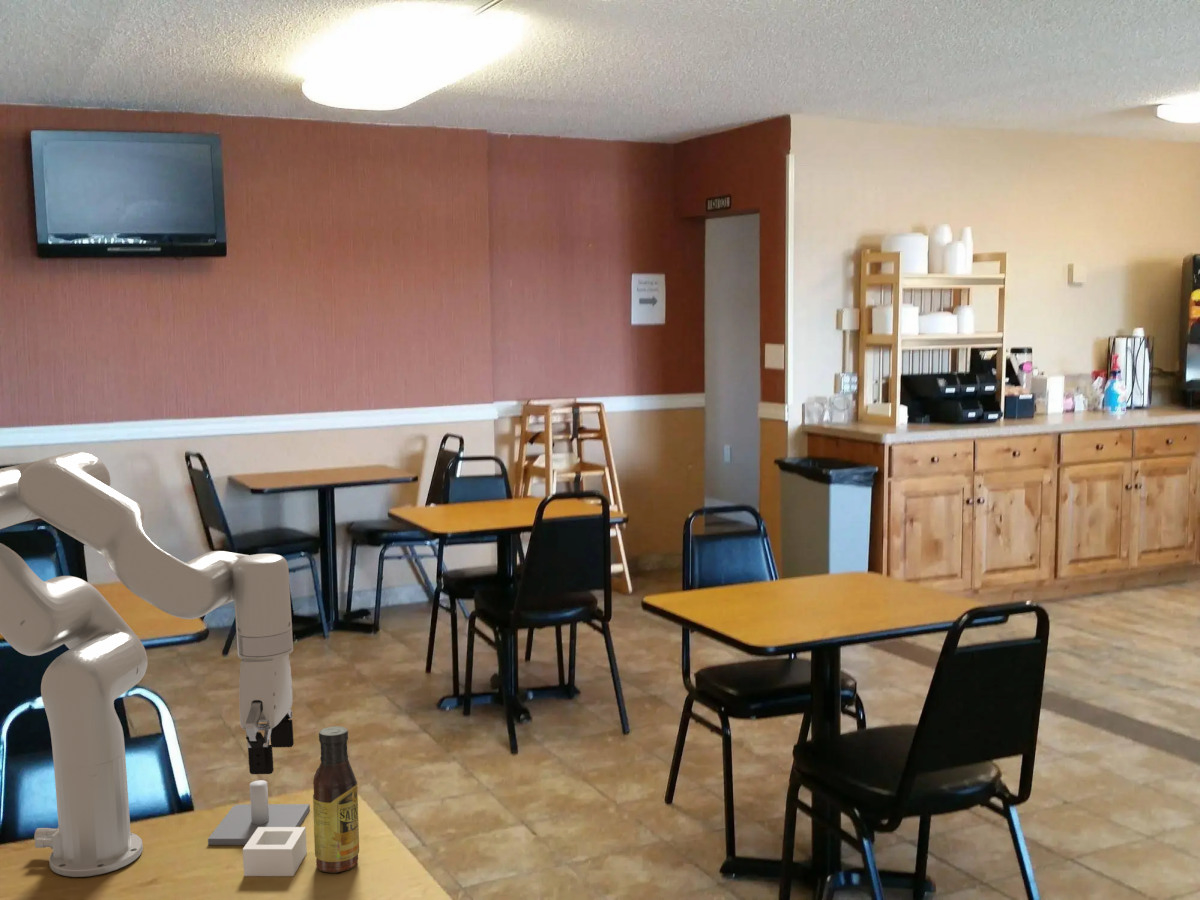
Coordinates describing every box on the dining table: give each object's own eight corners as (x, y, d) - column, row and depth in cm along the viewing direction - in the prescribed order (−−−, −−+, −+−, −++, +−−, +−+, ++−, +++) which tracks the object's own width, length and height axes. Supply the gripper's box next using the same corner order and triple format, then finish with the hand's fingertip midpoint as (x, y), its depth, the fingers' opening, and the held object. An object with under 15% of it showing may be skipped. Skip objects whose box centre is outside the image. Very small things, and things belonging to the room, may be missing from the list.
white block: (244, 876, 167) (242, 849, 166) (259, 852, 174) (258, 827, 173) (293, 876, 167) (291, 849, 166) (306, 852, 174) (305, 827, 173)
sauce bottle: (349, 877, 166) (343, 741, 164) (307, 873, 167) (301, 738, 165) (367, 855, 173) (362, 724, 170) (327, 852, 174) (321, 722, 171)
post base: (208, 845, 177) (205, 800, 176) (235, 810, 188) (232, 768, 188) (288, 845, 176) (285, 800, 175) (309, 810, 188) (307, 768, 187)
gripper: (257, 626, 175) (264, 737, 177) (217, 662, 158) (225, 784, 160) (308, 625, 175) (314, 736, 177) (273, 661, 157) (280, 784, 160)
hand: (272, 759), depth 168 cm, fingers open, 9 cm apart
